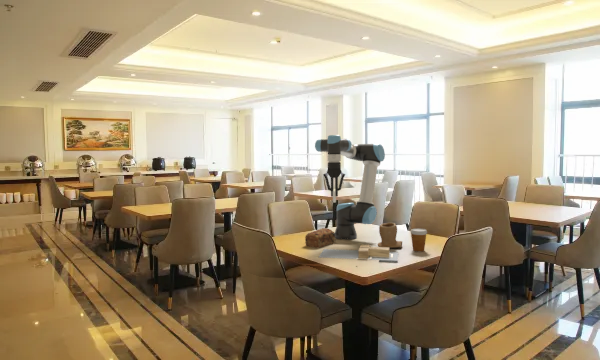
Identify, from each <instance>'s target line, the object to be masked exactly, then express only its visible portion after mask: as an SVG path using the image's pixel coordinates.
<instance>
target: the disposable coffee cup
mask: <svg viewBox="0 0 600 360" xmlns="http://www.w3.org/2000/svg"><path fill="white" fill-rule="evenodd" d="M409 232H410V237H411V243H412V244H411V245H412V251H414V252H424V251H425V247H426V242H427V240H426V239H427V234H428V231H427V229H425V228H412V229H410V231H409Z"/></svg>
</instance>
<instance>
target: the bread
mask: <svg viewBox="0 0 600 360" xmlns="http://www.w3.org/2000/svg"><path fill="white" fill-rule="evenodd" d="M335 239H336V238H335V231H333V230H332V229H330V228H328V227H325V228H319V229H316V230H314V231H310V232H308V233H306V235H305V237H304V240H305V242H304V244H305V246H306V247H310V248H317V249H319V248H324V247H326V246H329V245H334V244H335Z"/></svg>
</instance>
